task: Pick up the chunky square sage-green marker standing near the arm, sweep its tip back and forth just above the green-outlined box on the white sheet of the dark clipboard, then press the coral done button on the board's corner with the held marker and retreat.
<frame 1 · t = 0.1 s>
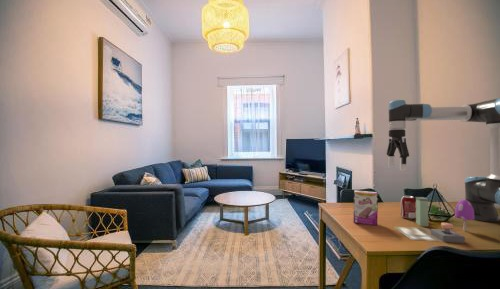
hand: (396, 169, 123), 28 cm above the table, fingers open, 13 cm apart
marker: (422, 225, 116), on the table
candy bar box: (365, 223, 120), on the table
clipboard: (424, 234, 104), on the table
soda can: (408, 218, 129), on the table
button cap: (447, 228, 99), point 4 cm above the table, slide at 0.0 cm
button housing: (447, 238, 99), resting on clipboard
toy: (464, 232, 108), on the table
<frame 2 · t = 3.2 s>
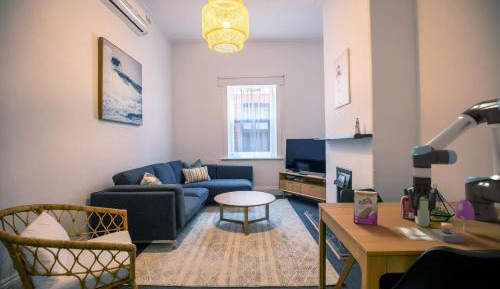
hand: (422, 222, 116), 2 cm above the table, fingers closed on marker, 4 cm apart
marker: (422, 225, 116), on the table, touching gripper
everything else where it was.
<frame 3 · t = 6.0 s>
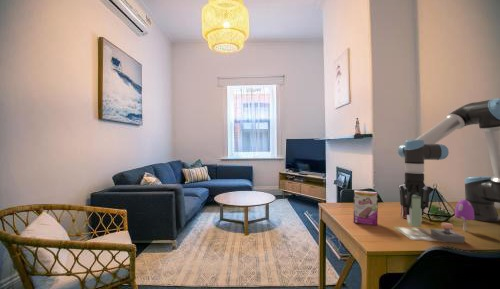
hand: (414, 221, 109), 4 cm above the table, fingers closed on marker, 4 cm apart
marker: (414, 225, 109), point 3 cm above the table, touching gripper
everything else where it was.
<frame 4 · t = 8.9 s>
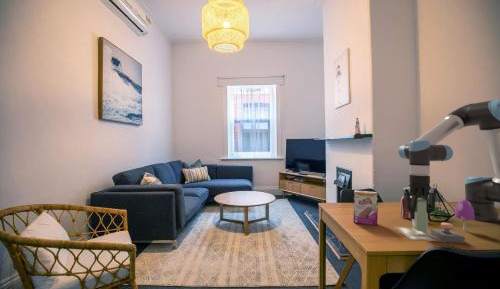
hand: (419, 226, 104), 4 cm above the table, fingers closed on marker, 4 cm apart
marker: (419, 229, 104), point 2 cm above the table, touching gripper
everything else where it was.
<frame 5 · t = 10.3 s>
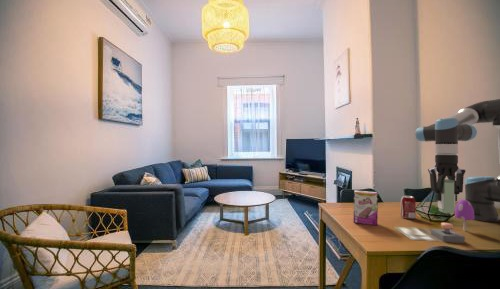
hand: (446, 208, 100), 13 cm above the table, fingers closed on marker, 4 cm apart
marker: (446, 212, 100), point 12 cm above the table, touching gripper
everything else where it was.
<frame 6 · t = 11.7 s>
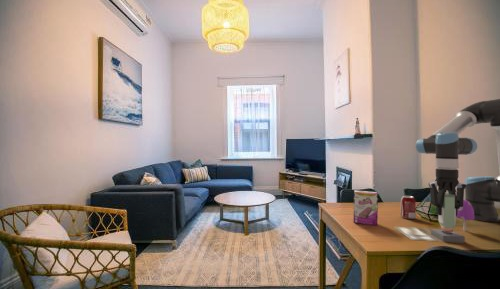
hand: (446, 222, 99), 7 cm above the table, fingers closed on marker, 4 cm apart
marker: (446, 226, 99), point 6 cm above the table, touching gripper
button cap: (447, 231, 99), point 3 cm above the table, slide at 1.0 cm
everything else where it was.
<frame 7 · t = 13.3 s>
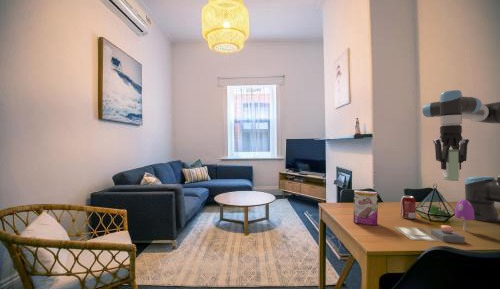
hand: (451, 176, 105), 26 cm above the table, fingers closed on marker, 4 cm apart
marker: (451, 180, 105), point 25 cm above the table, touching gripper
everything else where it was.
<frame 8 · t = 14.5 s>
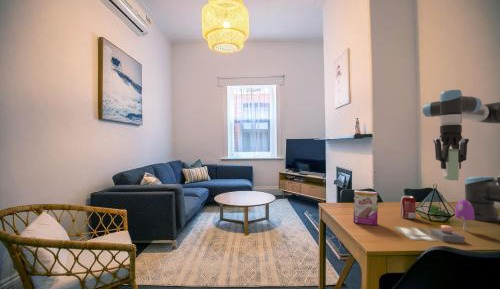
hand: (450, 176, 105), 27 cm above the table, fingers closed on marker, 4 cm apart
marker: (450, 179, 105), point 25 cm above the table, touching gripper
everything else where it was.
at the end: button cap slide at 1.1 cm; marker point 25.0 cm above the table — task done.
